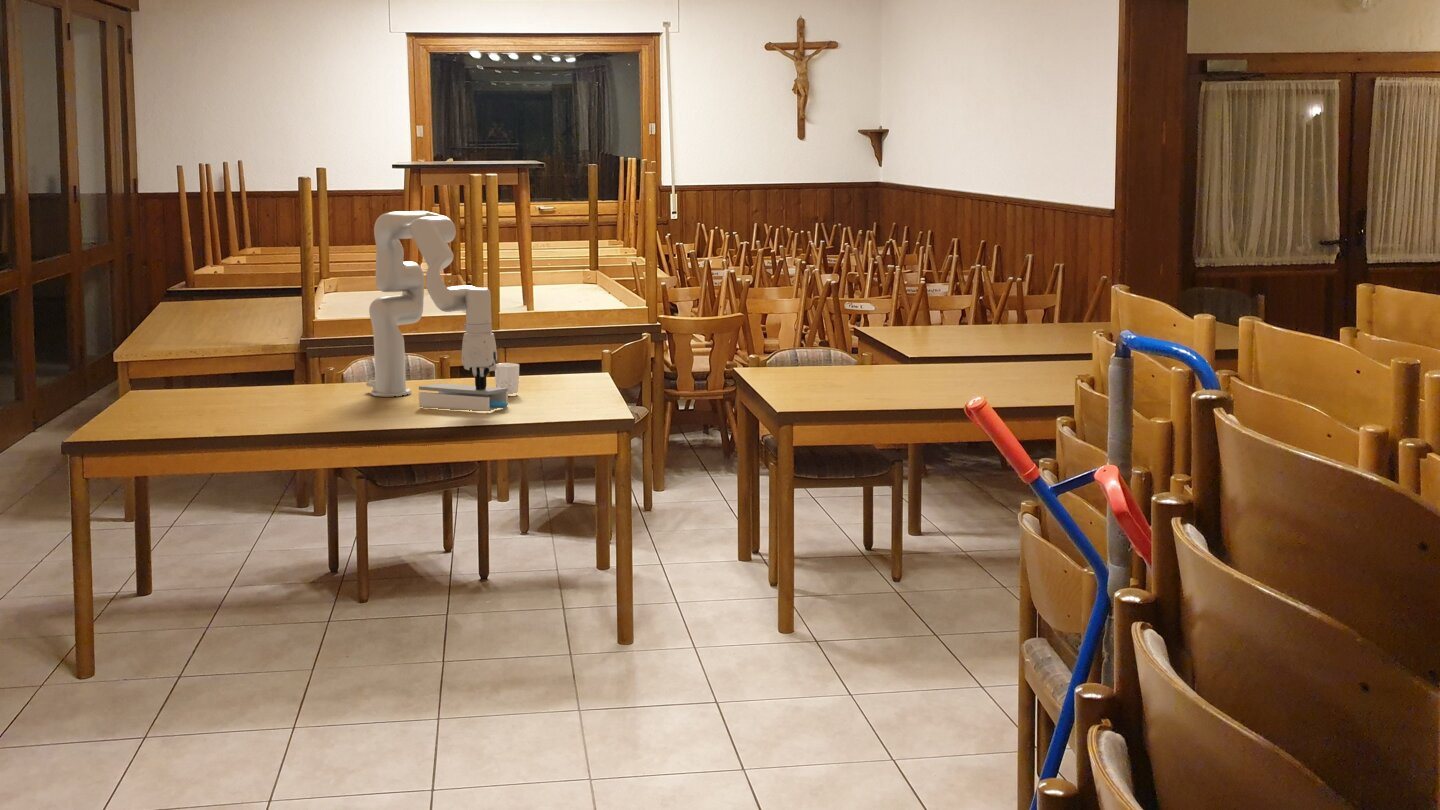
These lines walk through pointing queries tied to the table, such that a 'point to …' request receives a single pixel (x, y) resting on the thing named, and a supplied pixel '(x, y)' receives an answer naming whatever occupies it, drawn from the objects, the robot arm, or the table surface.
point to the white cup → (507, 376)
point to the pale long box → (460, 400)
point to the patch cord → (498, 404)
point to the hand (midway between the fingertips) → (480, 389)
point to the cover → (462, 389)
